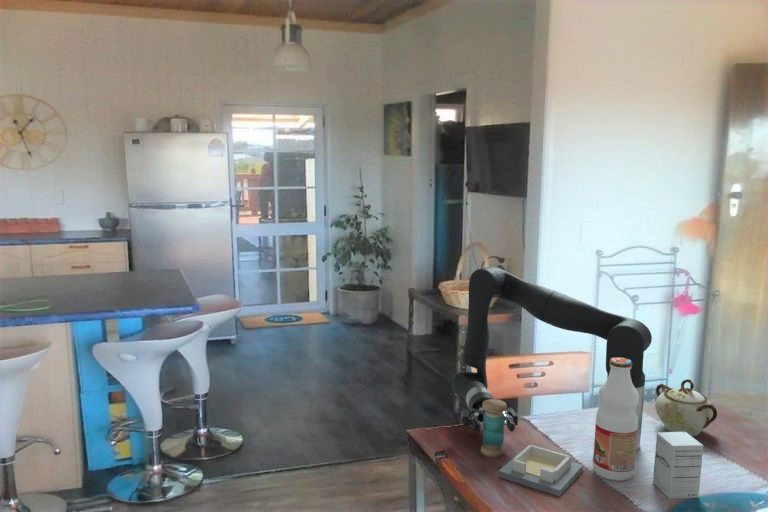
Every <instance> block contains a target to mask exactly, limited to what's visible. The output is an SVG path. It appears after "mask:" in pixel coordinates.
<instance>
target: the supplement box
mask: <svg viewBox="0 0 768 512" xmlns="http://www.w3.org/2000/svg"><path fill="white" fill-rule="evenodd" d="M655 441H656V442H655V453H654V465H653V472H652V473H653V474H652V484H654V485H655V486H656V487H657V488H658V489H659V490H660V491H661V492H662V493H663V494H664V495H665V496H666V497H667V498H668V499H692V498H693V499H695V498H699V496H700V485H701V474H702V464H703V455H704V453H703V452H704V445H703V443H701V442H699V440H697V439H695V438H694V436H690V435H689V434H688V433H686V432H670V431H664V432H663V431H660V432H656V439H655Z"/></svg>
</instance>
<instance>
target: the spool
mask: <svg viewBox="0 0 768 512" xmlns="http://www.w3.org/2000/svg"><path fill="white" fill-rule="evenodd" d="M507 404H508V403H506V402H505V401H504V400H500V399H497V398H496V399H495V398H494V399H488V400H485V401H483V403H482V408H483V409H484V410H485V412H484V420H483V423H482V424H483V427H482V429H483V430H482V444H481V446H480V453H481V455H483V456H484V457H485V456H486V457H489V458H501V457H503V456H504V455H505V451H506V447H505V446H504V438H505V435H504V433H505V425H504V413H503V412H504V411H507Z"/></svg>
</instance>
